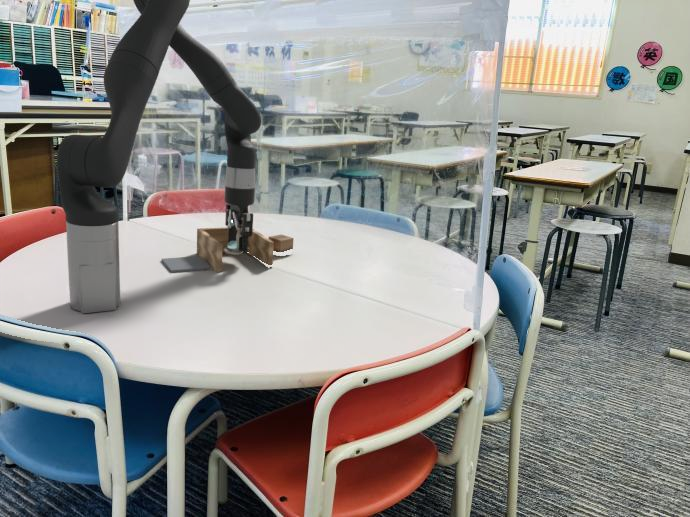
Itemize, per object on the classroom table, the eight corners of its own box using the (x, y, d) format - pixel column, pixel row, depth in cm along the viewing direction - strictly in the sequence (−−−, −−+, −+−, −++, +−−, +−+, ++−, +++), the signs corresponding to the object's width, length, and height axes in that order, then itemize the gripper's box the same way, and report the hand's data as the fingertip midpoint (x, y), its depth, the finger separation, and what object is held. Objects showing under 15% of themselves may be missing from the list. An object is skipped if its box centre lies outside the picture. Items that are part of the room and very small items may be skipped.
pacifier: (229, 257, 139) (251, 255, 142) (229, 233, 137) (251, 232, 141) (219, 250, 145) (240, 248, 148) (219, 227, 143) (240, 225, 146)
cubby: (272, 267, 144) (273, 242, 142) (217, 272, 136) (217, 245, 134) (248, 250, 158) (249, 226, 156) (196, 253, 150) (197, 228, 148)
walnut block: (292, 254, 158) (293, 238, 156) (280, 257, 154) (281, 240, 152) (280, 250, 161) (281, 234, 159) (267, 253, 157) (268, 236, 155)
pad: (211, 269, 138) (211, 267, 138) (171, 272, 133) (171, 270, 133) (199, 258, 146) (199, 256, 146) (161, 260, 141) (161, 258, 141)
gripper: (264, 189, 135) (261, 253, 140) (244, 181, 147) (241, 240, 151) (235, 189, 132) (233, 255, 136) (217, 180, 143) (215, 241, 148)
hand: (237, 247), depth 144 cm, fingers closed on pacifier, 7 cm apart
